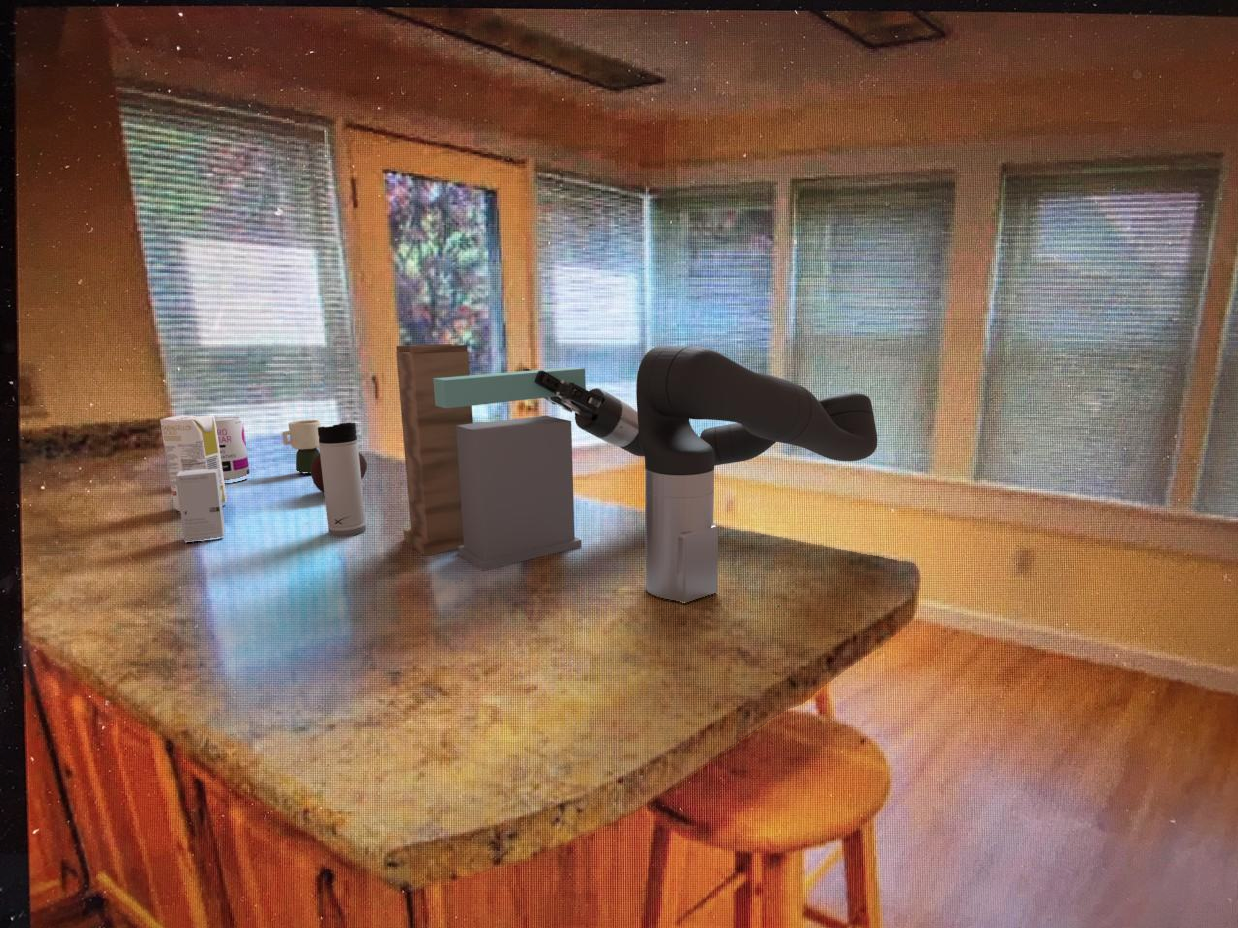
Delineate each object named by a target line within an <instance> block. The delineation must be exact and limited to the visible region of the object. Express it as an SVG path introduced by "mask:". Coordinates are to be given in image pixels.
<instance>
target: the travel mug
mask: <svg viewBox="0 0 1238 928" xmlns="http://www.w3.org/2000/svg"><path fill="white" fill-rule="evenodd" d="M356 425H357V424H356V422H342V423H339V424H333V425H331V426H321V427H318V436H319V445H320V446H319V447H318V449H319V452H320V457H321V466H322V475H323V484H324V493H323V494H324V500H325V502H324V503H325V509H326V519H327V525H328V527H327V529H328V534H329V535H330V536H332V537H336V536H337V537H339V538H345V537H351V536H352V537H353V536H356V535H357V536H358V535H359V534H360V535H361V534H362V533H364V532H365V531H366V529H367V525H366V516H365V515H366V514H365V503H364V493H363V484H362V483H363V482H362V481H363V480H361V471H360V461H359V453H360V452H359V444H358V437H357V426H356Z"/></svg>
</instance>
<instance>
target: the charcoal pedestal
mask: <svg viewBox="0 0 1238 928" xmlns="http://www.w3.org/2000/svg"><path fill="white" fill-rule="evenodd" d="M456 432H457V448H458V463H459V478H460V493H461V508H462V523H463V538H464V545H462V546H457V547H458V549H457V554H458V555H460V556H461V557H462V558H463V559H465V560H466V561H468V562H470V563H471V565H472V564H473V565H474V566H476V567H477V568H478V569H479V570H481V571H482V572H483V571H487V570H488V571H489V570H492V569H496V568H499V567H504V566H509V565H512V564H516V563H520V562H524V561H529V560H532V559H533V560H534V559H537V558H542V557H545V556H550V555H554V554H557V553H561V552H565V551H569V550H574V549H577V548H578V549H579V548H581V547H582V539H580V538H578V537H577V536H575V534H576V533H575V506H574V505H575V504H574V499H575V498H574V473H573V472H574V471H573V441H572V439H573V438H572V432H573V431H572V420H568V419H563V418H559V417H554V416H551V415H539V416H538V415H537V416H530V417H520V418H513V419H512V418H511V419H505V420H504V419H503V420H494V421H484V422H477V423H476V422H475V423H474V422H473V424H464V425H456Z"/></svg>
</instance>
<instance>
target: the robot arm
mask: <svg viewBox="0 0 1238 928" xmlns="http://www.w3.org/2000/svg"><path fill="white" fill-rule="evenodd" d="M531 370H532V369H529V368H524V369H523V370H522V371H531ZM539 370H540V371H538V374H537V376H536V378H535V383H536V384H538V385H540V386H541V387H543V388H545V389H547V390H549V391H551V392H553V393H554V392H555V393H554V394H555V395H556V396H555V397H546V398H544V399H545V400H546V401H548V402H549V403H550V404H552V405H555V406H560V407H561V409H562V410H564V411H566V412H569V413H572V412H574V421H575V424H576V426H577V427H578V428H579V429H580V430H583V431H585V432H587V433H589V434H590V435H592V436H594V437H595V438H598V439H600V440H601V441H604V442H606V443H607V444H611V445H613V446H615V447H617V448H620V449H622V450H624V451H626V452H627V453H629V454H632V455H634V456H636V457H644V486H645V487H644V500H645V501H644V505H645V506H644V508H645V509H644V510H645V511H644V512H645V513H644V515H645V517H644V520H645V521H644V523H645V525H644V526H645V527H644V528H645V531H644V532H645V535H644V536H645V540H644V541H645V542H644V543H645V545H644V547H645V553H644V554H645V590H646V591H647V592H648V593H649V594H650V593H651V594H653V595H655V596H658V597H661V598H666V599H671V600H679V601H681V602H688V601H692V600H695V599H698V598H701V597H704V598H706V597H705V596H707V595H710V596H712V595H711V594H713V595H715V594H714V593H716V594H718V587H719V586H718V585H719V584H718V583H719V582H718V580H719V578H718V577H719V570H718V569H719V526H717V525H714V508H715V507H714V502H715V501H714V494H715V466H720V465H728V464H734V463H740V462H745V461H749V460H752V459H754V458H757V457H759V456H760V455H762V454H763V453H764V452H766V451H767V450H769V449H770V448H771V447H773V445H775V444H776V443H782V444H786V445H791V446H796V447H799V448H802V449H805V450H808V451H810V452H812V453H814V454H816V455H819V456H822V457H823V458H827V459H829V460H832V461H833V460H834V461H838V462H839V461H840V462H855V461H861V460H865V459H867V458H868V457H870V456H871V455H873V454H874V453H875V452H876V450H877V447H878V433H877V427H876V422H875V414H874V410H873V404H872V401H871V398H870V397H869V396H868V395H866V394H865V393H864V394H863V393H860V392H859V393H857V392H850V393H841V394H836V395H832V396H827V397H824V398H820V399H818V398H817V397H816V396H815V395H814V394H813V393H812V392H811V391H810V390H808V389H807V388H806V387H804V386H802V385H801V384H798V383H795V382H793V381H790V380H787V379H784V378H782V377H778V376H774V375H771V374H767V373H762V372H756V371H753V370H751V369H749V368H747V367H745V366H743V365H742V364H740V363H738V362H736V361H735V360H732V359H730V358H729V357H728V356H725V355H724V354H722V353H720V352H718V351H716V350H714V349H712V348H709V347H704V346H699V345H698V346H697V345H695V346H693V345H660V346H658V345H657V346H656V347H653V348H651V349H649V350H648V351H647V352H646V354H645V355H644V356H643V358H642V359H641V362H640V363H639V367H638V371H637V375H636V386H635V387H636V388H635V389H636V390H635V393H636V394H635V395H636V398H635V399H636V409H634V408H633V407H632V406H631V405H629V404H628V403H627V402H624V401H622V400H621V399H620V398H617V397H616V396H614V395H612V394H610V393H608V392H607V391H605V390H604V389H602V388H598V387H596V388H595V387H594V388H593V389H590V390H589V389H587V388H586V389H584V388H582V387H580V386H578V385H576V384H575V383H571V382H569V384H568V383H567V382H565V380H560V381H559V379H557V378H555V377H554V376H552V375H550V374H548V373H547V372H545V371H541V370H542V369H539ZM575 390H578V391H580V392H578V391H575ZM563 394H564V395H563ZM690 420H702V421H703V420H709V421H723V422H731V423H730V424H729V423H728V424H723V425H717V426H713V427H708V428H705V429H703V430H702V431H701V433H700V434H699V435H700V436H699V435H698V434H697V432H695V430H694V429H693V427H692V425H691V422H690ZM651 594H650V595H651ZM653 595H652V596H653ZM655 596H654V597H655ZM658 597H657V598H658ZM707 597H708V596H707ZM661 598H660V599H661ZM701 599H702V598H701ZM671 600H670V601H671ZM698 600H699V599H698ZM695 601H696V600H695ZM681 602H680V603H681ZM692 602H693V601H692Z"/></svg>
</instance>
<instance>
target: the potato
mask: <svg viewBox="0 0 1238 928" xmlns="http://www.w3.org/2000/svg"><path fill="white" fill-rule="evenodd" d="M359 461H360V471H361V481H363V479H364V476H365V475H366V472H367V470H368V469H367V467H368V463H367V461H366V458H365V456H364V455H363V454H362V453H360V452H359ZM310 476H311V478H312V481H313V484H314V485H315V486H316V488H317V489H318V490H319V491H320V492H321V493H323V494H325V493H324V484H323V475H322V466H321V457H320V453H319V454H318V455H317V456H316V458H315V459H314V460H313V463H312V466H311V473H310Z"/></svg>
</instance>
